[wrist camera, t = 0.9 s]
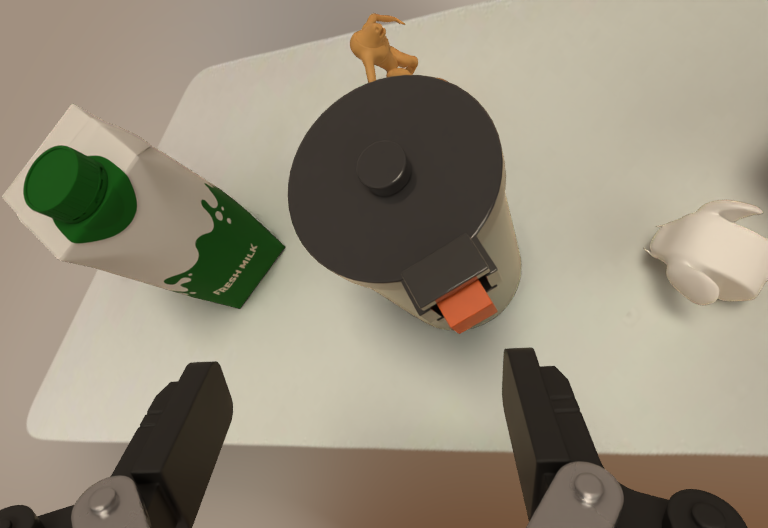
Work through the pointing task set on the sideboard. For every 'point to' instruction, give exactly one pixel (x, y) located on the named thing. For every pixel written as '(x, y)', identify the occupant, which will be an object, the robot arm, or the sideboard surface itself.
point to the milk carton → (138, 213)
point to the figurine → (380, 49)
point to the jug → (407, 195)
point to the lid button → (467, 307)
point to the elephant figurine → (713, 253)
